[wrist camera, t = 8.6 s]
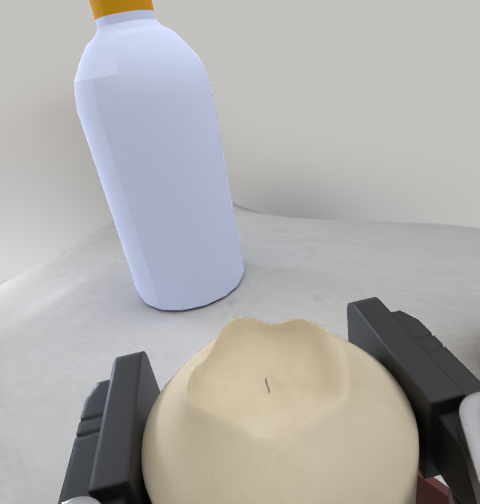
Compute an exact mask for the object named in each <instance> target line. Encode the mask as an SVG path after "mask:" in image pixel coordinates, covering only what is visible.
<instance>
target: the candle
mask: <svg viewBox="0 0 480 504" xmlns="http://www.w3.org/2000/svg"><path fill="white" fill-rule="evenodd" d="M418 463H419V434H418V428H417V423H416V418H415V415H414V412H413V409H412V407H411V404H410V402H409V400H408V398H407V396H406V394H405V393H404V391H403V389H402V388H401V386H400V385H399V384H398V382H397V381H396V380H395V378H394V377H393V376H392V374H391V373H390V372H389V371H388V370H387V369H386V368H385V367H384V366H383V365H382V364H381V363H380V362H379V361H377V360H376V359H375V358H374V357H373V356H371V355H370V354H368V353H367V352H365V351H364V350H362V349H361V348H359V347H357V346H355V345H354V344H352V343H350V342H348V341H346V340H344V339H342V338H340V337H338V336H337V335H335V334H332V333H330V332H328V331H327V330H325V329H324V328H322V327H320V326H319V325H317V324H315V323H312V322H310V321H307V320H304V319H290V320H287V321H284V322H279V323H274V324H272V323H267V322H263V321H260V320H257V319H254V318H247V317H242V318H236V319H234V320H232V321H229V322H228V323H227V324H226V325H225V326H224V327H223V328H222V329H221V331H220V332H219V334H218V335H217V336H216V337H215V339H213V340H212V341H211V342H210V343H209V344H207V345H206V346H205V347H204V348H203V349H201V350H200V351H199V352H198V353H196V354H195V355H194V356H193V357H192V358H191V359H190V360H189V361H188V362H187V363H185V364H184V365H183V366H182V367H181V368H180V369H179V370H178V372H177V373H176V374H175V375H174V376H173V377H172V378H171V380H170V381H169V382H168V383H167V384H166V386H165V387H164V389H163V390H162V392H161V393H160V394H159V396H158V397H157V399H156V401H155V403H154V405H153V407H152V409H151V411H150V414H149V416H148V419H147V422H146V425H145V429H144V433H143V439H142V451H141V464H142V473H143V478H144V482H145V487H146V489H147V492H148V494H149V497H150V499H151V502H152V504H416V491H417V477H418Z"/></svg>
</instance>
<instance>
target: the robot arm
mask: <svg viewBox="0 0 480 504" xmlns="http://www.w3.org/2000/svg"><path fill="white" fill-rule="evenodd" d="M347 319H348V340H349V342H350V343H352V344H354V345H355V346H357V347H359V348H361V349H362V350H364V351H365V352H367V353H368V354H370V355H371V356H373V357H374V358H375V359H376V360H377V361H379V362H380V363H381V364H382V365H383V366H384V367H385V368H386V369H387V370H388V371H389V372H390V373H391V374H392V376H393V377H394V378H395V380H396V381H397V382H398V384H399V385H400V386H401V388H402V389H403V391H404V393H405V394H406V396H407V398H408V400H409V402H410V404H411V407H412V409H413V412H414V415H415V418H416V423H417V428H418V434H419V463H418V470H419V471H420V473H421V475H422V476H423V478H424V479H427V478H430V477H434V476H438V475H441V476H442V477H443V479H444V480H445V482H446V483H447V485H448V486H449V496H448V497H449V504H480V381H479V380H478V379H477V378H476V377H475V376H474V375H473V374H472V373H471V372H470V371H469V370H468V369H467V368H466V367H465V366H464V365H463V364H462V363H461V362H460V361H459V360H458V359H457V358H456V357H455V356H454V355H453V354H452V353H451V352H450V351H449V350H448V349H447V348H446V347H443V345H442V343H441V342H440V341H439V340H438V339H437V338H436V337H435V336H432V334H431V332H430V331H429V330H428V329H427V328H426V327H425V326H424V325H423V324H422V323H421V322H420V321H419V320H418V319H416V318H414V317H412V316H410V315H408V314H406V313H404V312H402V311H396V312H392V313H391V312H390V311H389V310H388V309H387V307H386V306H385V305H384V304H383V303H382V302H381V301H380V300H379V299H378V298H377V297H373V298H368V299H364V300H360V301H356V302H352V303H349V304H348V306H347ZM159 394H160V390H159V388H158V385H157V382H156V379H155V376H154V373H153V371H152V368H151V365H150V362H149V359H148V357H147V354H146V353H145V352H144V351H142V352H138V353H134V354H130V355H126V356H121V357H117V358H115V360H114V363H113V368H112V373H111V378H110V380H107V381H103V382H98V383H97V384H96V386H95V387H94V389H93V390H92V392H91V393H90V394H89V396H88V397H87V399H86V400H85V404H84V408H83V411H82V415H81V422H80V423H79V426H78V430H77V434H76V435H77V438H75V442H74V445H73V449H72V453H71V457H70V460H69V464H68V468H67V472H66V476H65V479H64V483H63V487H62V491H61V494H60V498H59V502H58V504H152V502H151V499H150V497H149V494H148V492H147V489H146V487H145V482H144V478H143V473H142V464H141V451H142V439H143V433H144V429H145V425H146V422H147V419H148V416H149V414H150V411H151V409H152V407H153V405H154V403H155V401H156V399H157V397H158V396H159Z"/></svg>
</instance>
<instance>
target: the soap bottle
mask: <svg viewBox="0 0 480 504" xmlns="http://www.w3.org/2000/svg"><path fill="white" fill-rule="evenodd" d="M89 1H90V4H91V8H92V11H93V15H94V18H95V22H96V26H97V32H96V34H95V37H94V39H92V40H91V41H90V42H89V43H88V44H87V45H86V47H85V50H84V52H83V55H82V57H81V60H80V63H79V67H78V70H77V73H76V77H75V80H74V88H75V98H76V107H77V112H78V115H79V118H80V121H81V124H82V127H83V130H84V133H85V136H86V139H87V142H88V145H89V148H90V151H91V154H92V157H93V160H94V163H95V166H96V169H97V172H98V175H99V178H100V181H101V184H102V187H103V190H104V193H105V195H106V199H107V201H108V204H109V207H110V210H111V213H112V216H113V219H114V222H115V225H116V228H117V231H118V234H119V237H120V240H121V243H122V246H123V249H124V252H125V255H126V258H127V261H128V264H129V267H130V270H131V273H132V276H133V279H134V282H135V285H136V288H137V291H138V293H139V295H140V296H141V298H142V299H143V300H144V302H145V303H146V304H147V305H150V306H153V307H155V308H158V309H161V310H186V309H191V308H196V307H200V306H205V305H207V304H209V303H212V302H214V301H216V300H218V299H220V298H222V297H224V296H226V295H227V294H228V293H230V292H231V291H232V290H233V289H234V288H235V287H237V286H238V285H239V283H240V280H241V278H242V276H243V274H244V264H243V259H242V253H241V248H240V242H239V237H238V231H237V226H236V220H235V214H234V209H233V203H232V198H231V192H230V187H229V182H228V177H227V171H226V165H225V160H224V154H223V148H222V143H221V137H220V132H219V127H218V121H217V115H216V110H215V104H214V99H213V93H212V88H211V84H210V81H209V79H208V76H207V74H206V71H205V69H204V66H203V64H202V61H201V59H200V58H199V57H198V56H197V55H196V54H195V52H194V51H193V50H192V49H191V48H190V47H189V46H188V45H187V43H186V42H185V41H184V40H183V39H182V38H180V37H179V36H178V35H177V34H176V33H175V32H174V31H173V30H171V29H169V28H166V27H164V26H162V25H161V24H160V23H159V22H158V21H157V20H156V19H155V14H154V10H153V5H152V0H89Z"/></svg>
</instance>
